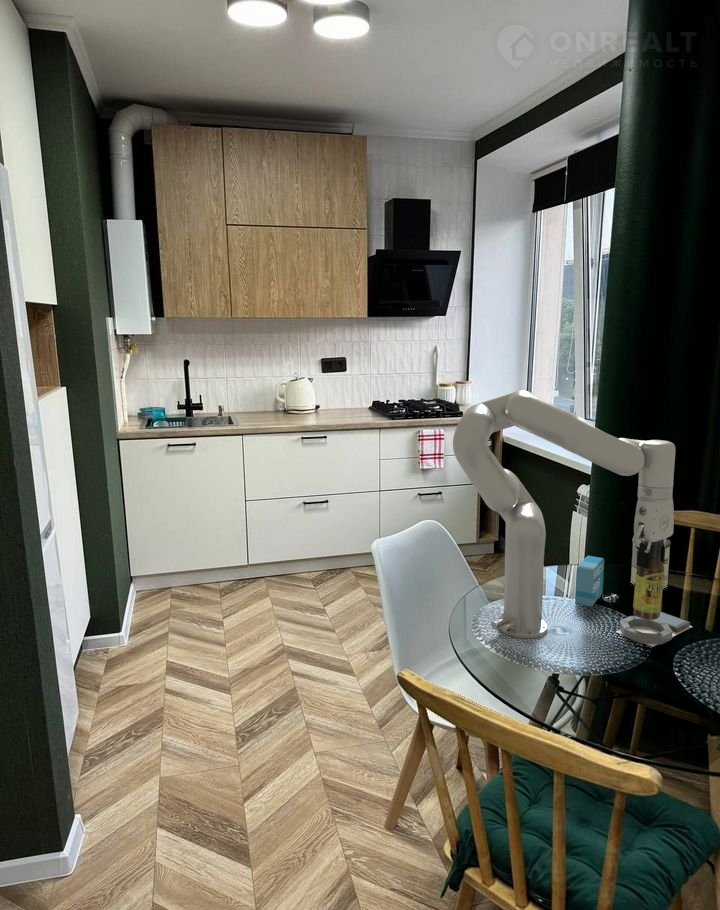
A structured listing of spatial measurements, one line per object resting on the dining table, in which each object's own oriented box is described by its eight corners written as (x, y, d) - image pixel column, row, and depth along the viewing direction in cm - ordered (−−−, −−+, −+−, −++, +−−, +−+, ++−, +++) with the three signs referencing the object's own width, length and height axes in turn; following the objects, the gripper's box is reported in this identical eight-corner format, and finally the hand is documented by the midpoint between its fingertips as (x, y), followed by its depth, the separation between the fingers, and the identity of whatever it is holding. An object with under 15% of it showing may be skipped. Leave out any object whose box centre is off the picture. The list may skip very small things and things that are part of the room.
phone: (676, 632, 161) (677, 628, 160) (643, 620, 168) (643, 615, 168) (689, 626, 164) (689, 621, 164) (656, 614, 171) (656, 609, 171)
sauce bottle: (645, 623, 156) (651, 544, 152) (626, 613, 161) (632, 536, 158) (666, 619, 158) (672, 541, 154) (647, 609, 164) (652, 533, 160)
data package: (591, 611, 177) (593, 569, 175) (574, 607, 179) (576, 566, 177) (602, 596, 187) (604, 556, 184) (586, 593, 189) (588, 554, 187)
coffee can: (633, 575, 202) (636, 532, 199) (669, 582, 196) (672, 537, 194) (627, 586, 193) (630, 541, 191) (664, 593, 188) (668, 547, 185)
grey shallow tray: (653, 653, 153) (654, 640, 153) (611, 635, 162) (612, 624, 162) (694, 631, 164) (695, 620, 163) (653, 616, 173) (653, 605, 172)
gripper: (649, 500, 146) (644, 576, 149) (689, 489, 156) (684, 560, 159) (619, 494, 152) (615, 567, 155) (660, 484, 162) (655, 553, 165)
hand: (650, 563), depth 157 cm, fingers closed on sauce bottle, 5 cm apart
